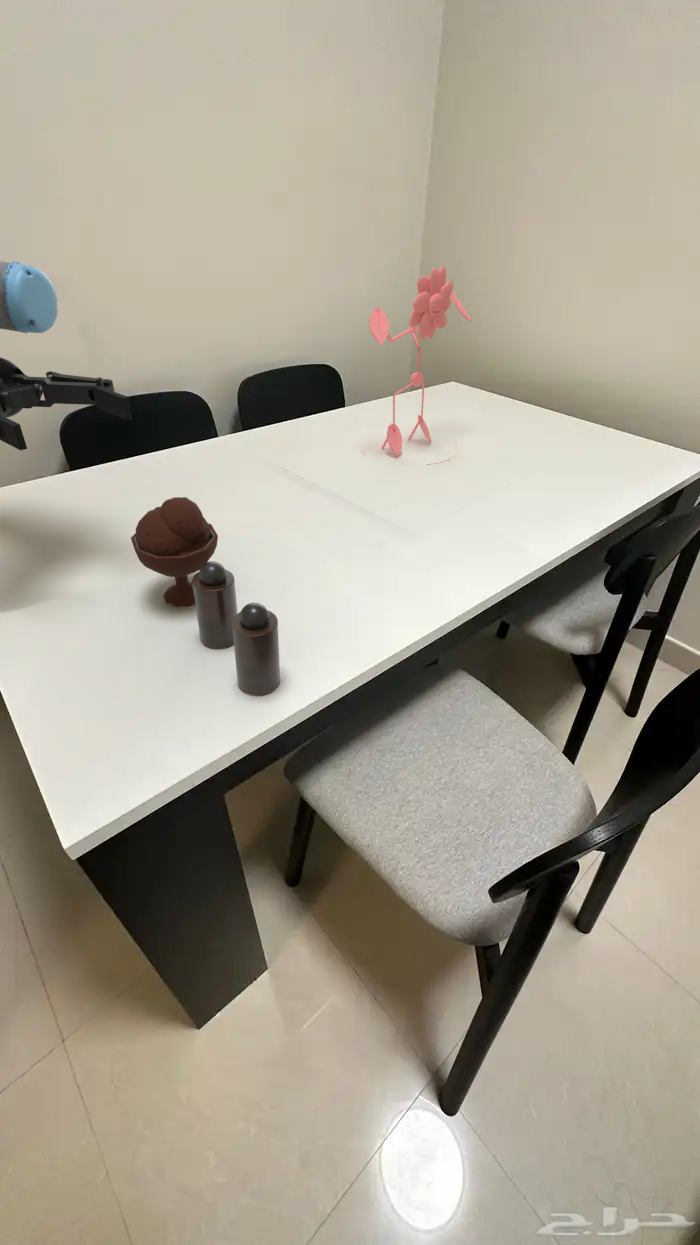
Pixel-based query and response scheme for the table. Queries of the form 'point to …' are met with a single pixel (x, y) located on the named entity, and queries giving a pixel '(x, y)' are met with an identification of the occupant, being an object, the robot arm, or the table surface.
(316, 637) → the table surface
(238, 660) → the walnut mill near
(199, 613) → the walnut mill middle
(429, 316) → the figurine
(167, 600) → the ice cream bowl
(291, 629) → the table surface
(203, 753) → the table surface
